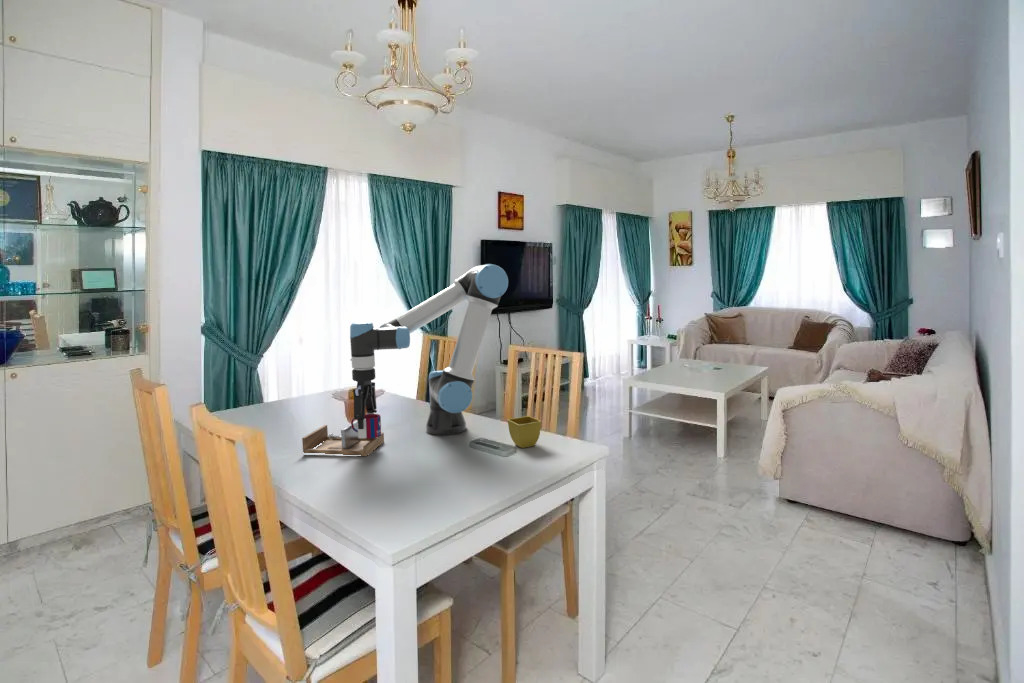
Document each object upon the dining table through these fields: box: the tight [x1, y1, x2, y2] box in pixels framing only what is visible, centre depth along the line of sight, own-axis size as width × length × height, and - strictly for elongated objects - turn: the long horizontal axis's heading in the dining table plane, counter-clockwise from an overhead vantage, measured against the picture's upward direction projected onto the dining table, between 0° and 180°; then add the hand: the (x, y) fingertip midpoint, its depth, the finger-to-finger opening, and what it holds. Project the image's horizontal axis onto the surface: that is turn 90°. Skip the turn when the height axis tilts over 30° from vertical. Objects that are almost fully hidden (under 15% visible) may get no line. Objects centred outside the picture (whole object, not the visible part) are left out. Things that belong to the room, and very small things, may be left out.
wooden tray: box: [301, 424, 385, 457], centre depth 186 cm, size 22×16×6 cm
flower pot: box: [507, 415, 542, 449], centre depth 185 cm, size 9×9×9 cm
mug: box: [350, 413, 382, 438], centre depth 184 cm, size 7×10×7 cm
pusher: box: [328, 419, 360, 449], centre depth 186 cm, size 8×12×7 cm, turn 173°
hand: (366, 434), depth 184 cm, fingers closed on mug, 7 cm apart
